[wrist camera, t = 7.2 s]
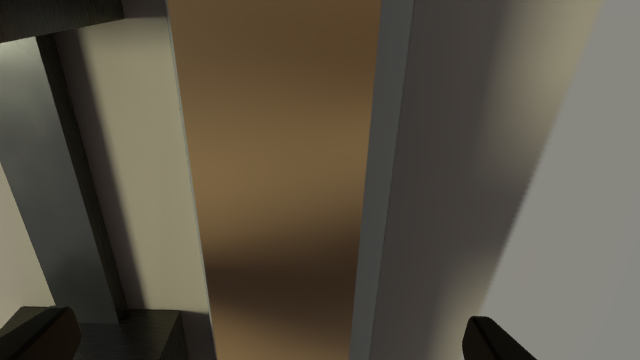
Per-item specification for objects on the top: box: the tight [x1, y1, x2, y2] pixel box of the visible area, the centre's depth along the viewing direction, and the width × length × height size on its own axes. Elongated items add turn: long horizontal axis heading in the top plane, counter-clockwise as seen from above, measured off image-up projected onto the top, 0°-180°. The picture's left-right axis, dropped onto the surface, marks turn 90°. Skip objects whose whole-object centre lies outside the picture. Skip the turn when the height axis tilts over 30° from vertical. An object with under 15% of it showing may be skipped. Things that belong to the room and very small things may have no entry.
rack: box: [0, 0, 189, 360], centre depth 12 cm, size 20×7×6 cm, turn 179°
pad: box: [165, 0, 414, 360], centre depth 14 cm, size 25×7×1 cm, turn 179°
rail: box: [167, 0, 382, 360], centre depth 12 cm, size 22×4×4 cm, turn 179°
